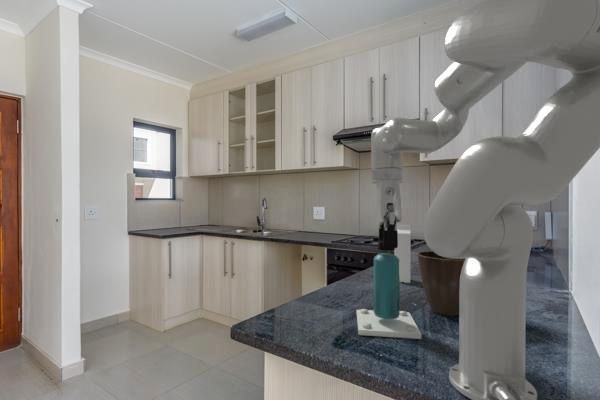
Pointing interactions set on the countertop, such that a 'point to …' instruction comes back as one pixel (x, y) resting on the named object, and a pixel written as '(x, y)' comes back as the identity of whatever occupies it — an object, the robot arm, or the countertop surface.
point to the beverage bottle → (386, 284)
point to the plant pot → (441, 282)
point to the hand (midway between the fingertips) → (387, 245)
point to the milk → (403, 252)
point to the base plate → (387, 325)
